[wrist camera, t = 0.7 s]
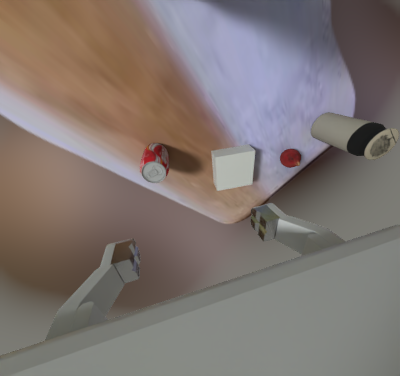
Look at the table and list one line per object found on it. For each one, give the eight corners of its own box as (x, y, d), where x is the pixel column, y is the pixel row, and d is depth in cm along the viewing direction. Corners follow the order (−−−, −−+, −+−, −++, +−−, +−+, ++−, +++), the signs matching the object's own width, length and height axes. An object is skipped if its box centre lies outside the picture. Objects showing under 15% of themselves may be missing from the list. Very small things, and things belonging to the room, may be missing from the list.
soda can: (173, 155, 50) (175, 175, 40) (155, 168, 51) (152, 190, 41) (158, 136, 46) (155, 153, 36) (138, 150, 47) (131, 170, 37)
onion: (272, 155, 55) (286, 165, 49) (286, 142, 54) (303, 151, 47) (280, 164, 58) (295, 175, 52) (294, 152, 56) (311, 162, 50)
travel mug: (314, 143, 55) (367, 167, 41) (306, 126, 51) (362, 146, 37) (337, 125, 53) (401, 144, 39) (330, 106, 49) (399, 119, 35)
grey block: (211, 150, 51) (215, 157, 47) (248, 144, 52) (255, 150, 48) (213, 182, 58) (217, 190, 54) (246, 176, 59) (252, 184, 55)
